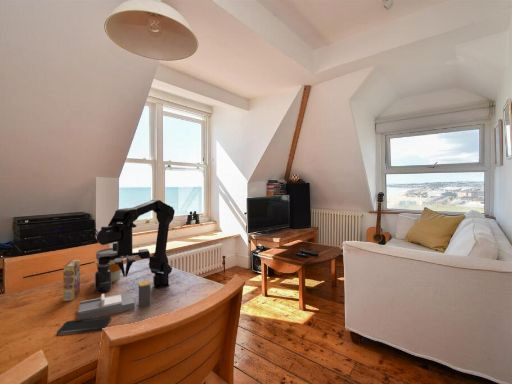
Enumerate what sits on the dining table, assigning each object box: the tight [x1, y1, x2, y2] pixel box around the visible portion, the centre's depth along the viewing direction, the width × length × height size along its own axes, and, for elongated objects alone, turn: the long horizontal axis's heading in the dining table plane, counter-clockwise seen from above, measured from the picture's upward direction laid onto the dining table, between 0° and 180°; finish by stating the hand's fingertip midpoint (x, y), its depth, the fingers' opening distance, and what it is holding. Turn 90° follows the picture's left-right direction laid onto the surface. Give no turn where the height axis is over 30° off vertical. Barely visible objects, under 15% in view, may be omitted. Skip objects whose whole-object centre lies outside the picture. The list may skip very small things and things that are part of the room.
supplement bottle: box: [94, 264, 113, 294], centre depth 121 cm, size 7×7×12 cm
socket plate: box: [77, 292, 136, 320], centre depth 104 cm, size 19×11×3 cm, turn 121°
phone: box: [56, 316, 112, 336], centre depth 91 cm, size 8×1×15 cm
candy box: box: [62, 259, 81, 302], centre depth 114 cm, size 9×4×15 cm, turn 20°
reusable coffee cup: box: [95, 247, 123, 283], centre depth 134 cm, size 13×13×15 cm
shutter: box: [101, 293, 122, 306], centre depth 104 cm, size 7×7×3 cm
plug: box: [138, 280, 151, 308], centre depth 108 cm, size 4×4×9 cm
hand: (125, 276), depth 106 cm, fingers closed
